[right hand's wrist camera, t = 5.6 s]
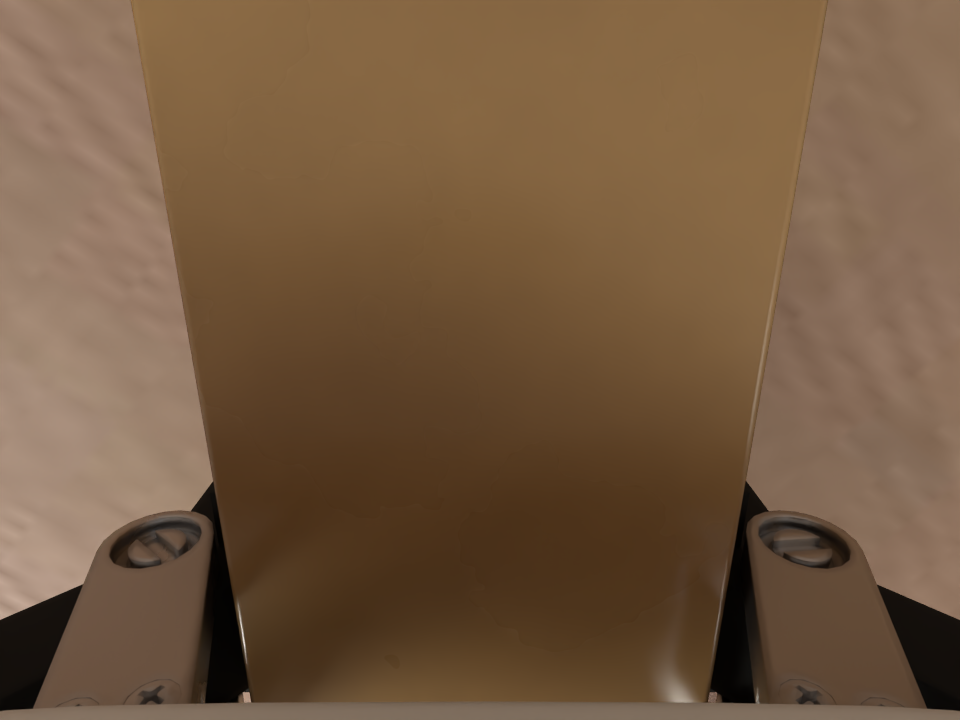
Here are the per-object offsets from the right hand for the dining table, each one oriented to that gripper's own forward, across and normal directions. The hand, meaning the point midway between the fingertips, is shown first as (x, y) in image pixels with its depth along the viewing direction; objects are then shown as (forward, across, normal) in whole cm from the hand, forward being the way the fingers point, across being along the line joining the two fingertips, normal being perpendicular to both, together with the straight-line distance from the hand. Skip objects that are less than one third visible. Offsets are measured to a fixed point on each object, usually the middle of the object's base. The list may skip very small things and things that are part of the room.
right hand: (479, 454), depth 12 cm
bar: (+2, 0, -28) cm, 28 cm away
